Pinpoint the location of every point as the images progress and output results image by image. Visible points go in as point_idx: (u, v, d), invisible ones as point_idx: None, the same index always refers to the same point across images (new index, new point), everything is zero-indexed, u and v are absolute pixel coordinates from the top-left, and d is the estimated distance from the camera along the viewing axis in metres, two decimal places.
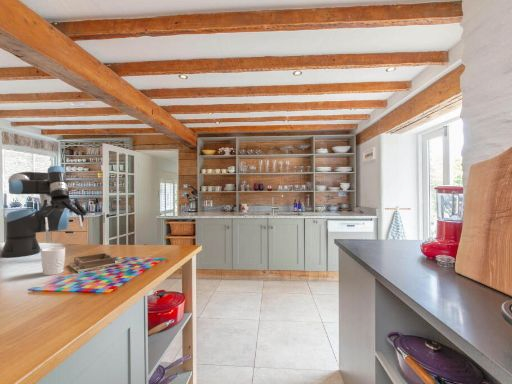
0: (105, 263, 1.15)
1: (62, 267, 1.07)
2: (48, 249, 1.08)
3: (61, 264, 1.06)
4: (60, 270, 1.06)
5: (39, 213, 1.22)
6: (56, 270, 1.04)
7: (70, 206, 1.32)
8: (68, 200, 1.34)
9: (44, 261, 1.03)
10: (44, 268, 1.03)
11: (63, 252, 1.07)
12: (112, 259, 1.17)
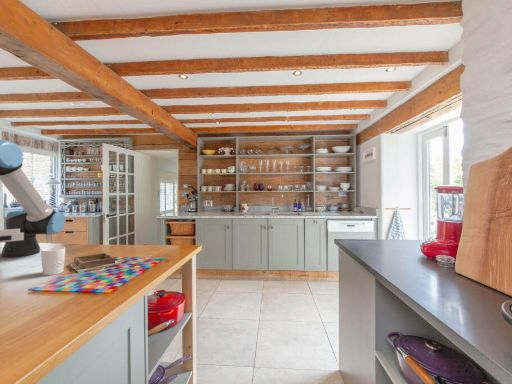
0: (105, 263, 1.15)
1: (62, 267, 1.07)
2: (48, 249, 1.08)
3: (61, 264, 1.06)
4: (60, 270, 1.06)
5: None
6: (56, 270, 1.04)
7: None
8: None
9: (44, 261, 1.03)
10: (44, 268, 1.03)
11: (63, 252, 1.07)
12: (112, 259, 1.17)
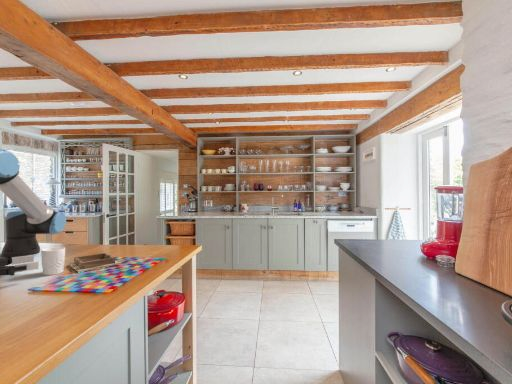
0: (105, 263, 1.15)
1: (62, 267, 1.07)
2: (48, 249, 1.08)
3: (61, 264, 1.06)
4: (60, 270, 1.06)
5: None
6: (56, 270, 1.04)
7: None
8: None
9: (44, 261, 1.03)
10: (44, 268, 1.03)
11: (63, 252, 1.07)
12: (112, 259, 1.17)
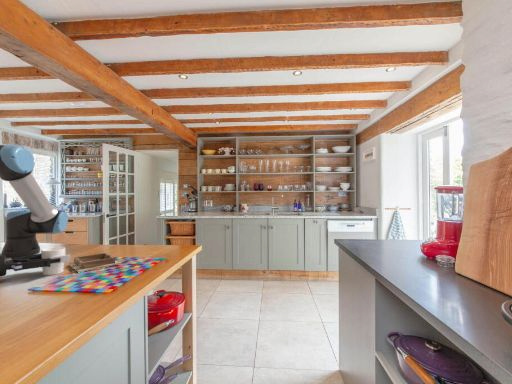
0: (105, 263, 1.15)
1: (62, 267, 1.07)
2: (48, 249, 1.08)
3: (61, 264, 1.06)
4: (60, 270, 1.06)
5: None
6: (56, 270, 1.04)
7: None
8: None
9: None
10: (44, 268, 1.03)
11: (63, 252, 1.07)
12: (112, 259, 1.17)
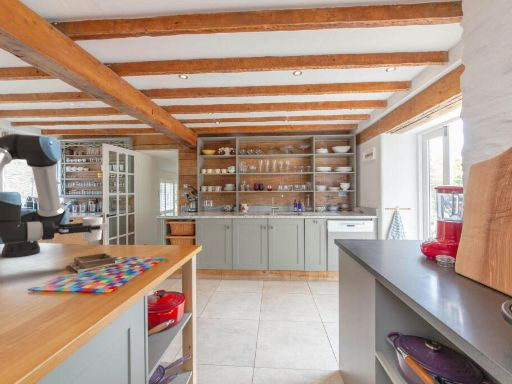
0: (105, 263, 1.15)
1: (100, 235, 1.17)
2: (87, 218, 1.18)
3: (99, 232, 1.16)
4: (99, 237, 1.16)
5: None
6: (96, 237, 1.14)
7: None
8: (60, 232, 1.05)
9: None
10: (85, 234, 1.13)
11: (101, 221, 1.16)
12: (112, 259, 1.17)
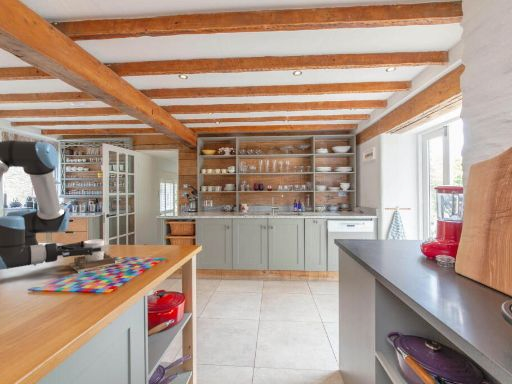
0: (105, 263, 1.15)
1: (102, 258, 1.18)
2: (89, 241, 1.18)
3: (101, 255, 1.17)
4: None
5: None
6: None
7: None
8: (63, 255, 1.06)
9: None
10: (87, 258, 1.14)
11: (103, 244, 1.17)
12: (112, 259, 1.17)
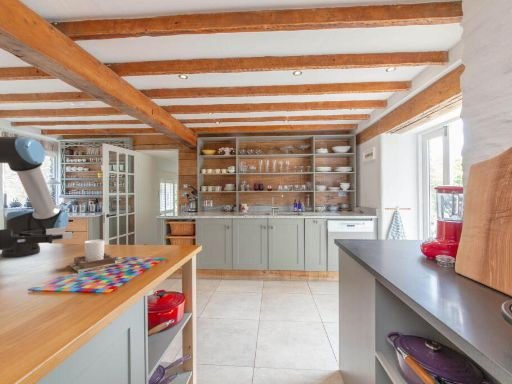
0: (105, 263, 1.15)
1: (102, 258, 1.18)
2: (89, 242, 1.19)
3: (102, 255, 1.17)
4: None
5: None
6: None
7: None
8: None
9: (87, 252, 1.14)
10: (87, 258, 1.14)
11: (103, 244, 1.18)
12: (112, 259, 1.17)
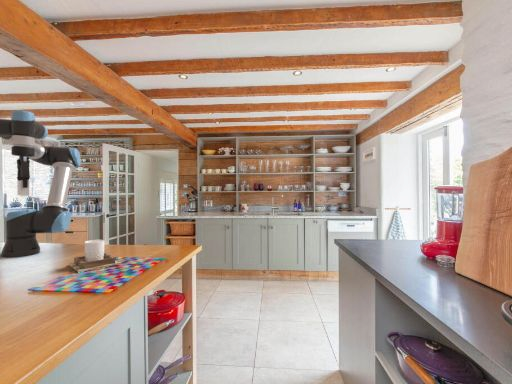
0: (105, 263, 1.15)
1: (102, 258, 1.18)
2: (89, 242, 1.19)
3: (102, 255, 1.17)
4: None
5: (17, 175, 1.18)
6: None
7: (19, 167, 1.09)
8: (20, 159, 1.10)
9: (87, 252, 1.14)
10: (87, 258, 1.14)
11: (103, 244, 1.18)
12: (112, 259, 1.17)
